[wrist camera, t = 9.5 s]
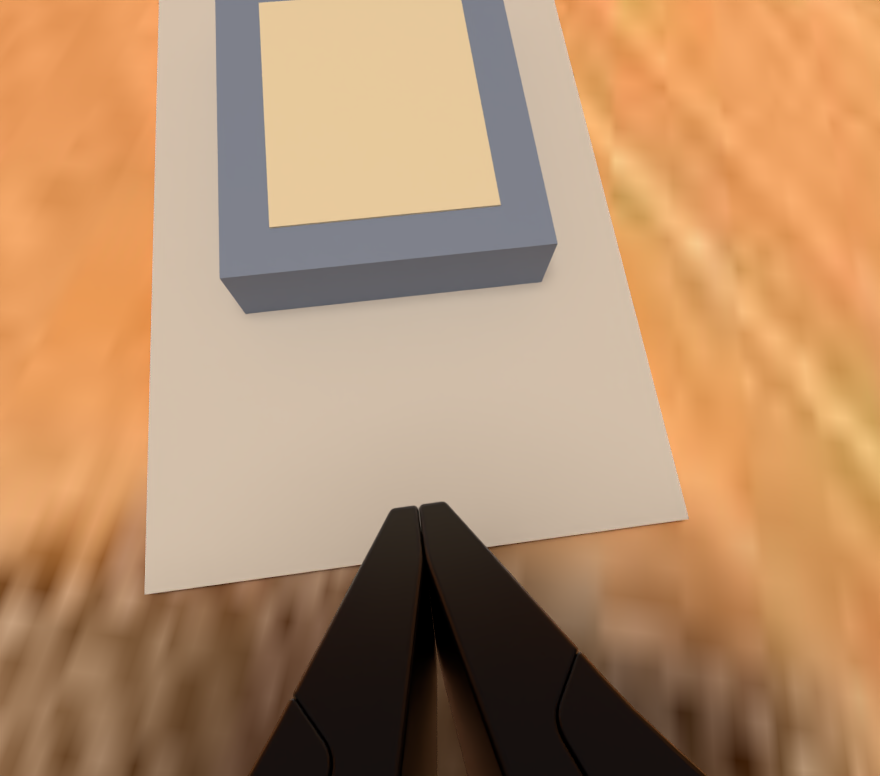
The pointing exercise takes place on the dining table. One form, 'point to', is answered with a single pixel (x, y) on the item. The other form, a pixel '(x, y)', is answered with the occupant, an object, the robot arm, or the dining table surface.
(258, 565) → the mat
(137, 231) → the dining table surface
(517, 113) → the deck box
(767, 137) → the dining table surface
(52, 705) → the dining table surface
